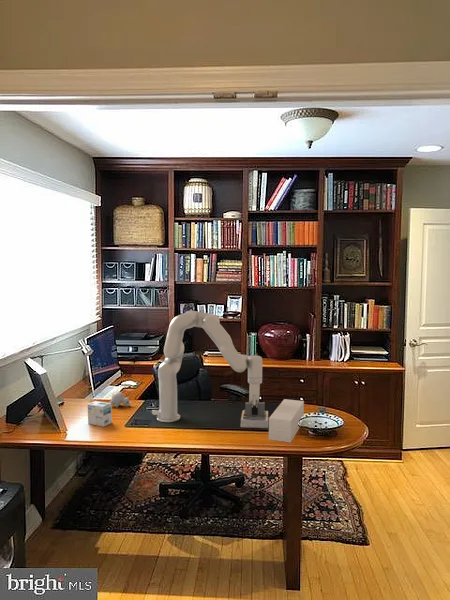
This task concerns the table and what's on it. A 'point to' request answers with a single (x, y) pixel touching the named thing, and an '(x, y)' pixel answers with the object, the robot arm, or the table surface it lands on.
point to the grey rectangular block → (285, 420)
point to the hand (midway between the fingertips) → (254, 413)
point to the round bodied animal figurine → (119, 399)
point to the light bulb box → (99, 413)
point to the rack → (254, 421)
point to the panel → (260, 409)
